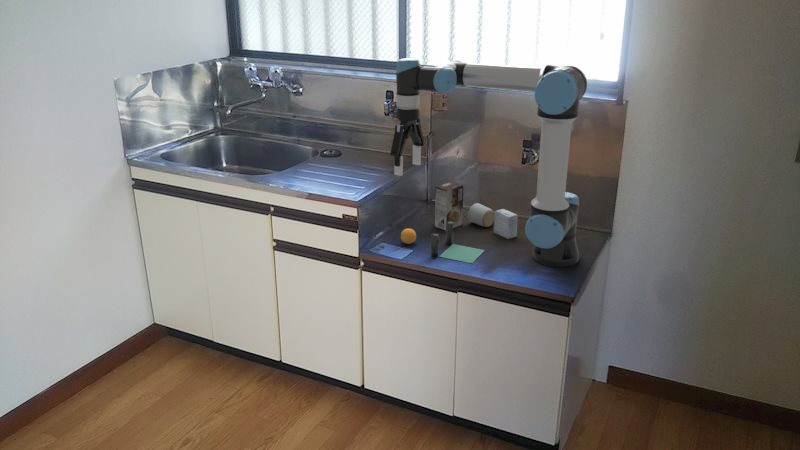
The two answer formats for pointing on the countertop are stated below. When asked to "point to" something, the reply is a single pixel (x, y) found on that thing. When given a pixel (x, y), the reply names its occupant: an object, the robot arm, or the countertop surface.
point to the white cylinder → (481, 215)
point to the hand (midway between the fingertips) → (407, 169)
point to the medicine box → (505, 223)
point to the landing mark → (462, 253)
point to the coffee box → (448, 204)
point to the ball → (408, 236)
